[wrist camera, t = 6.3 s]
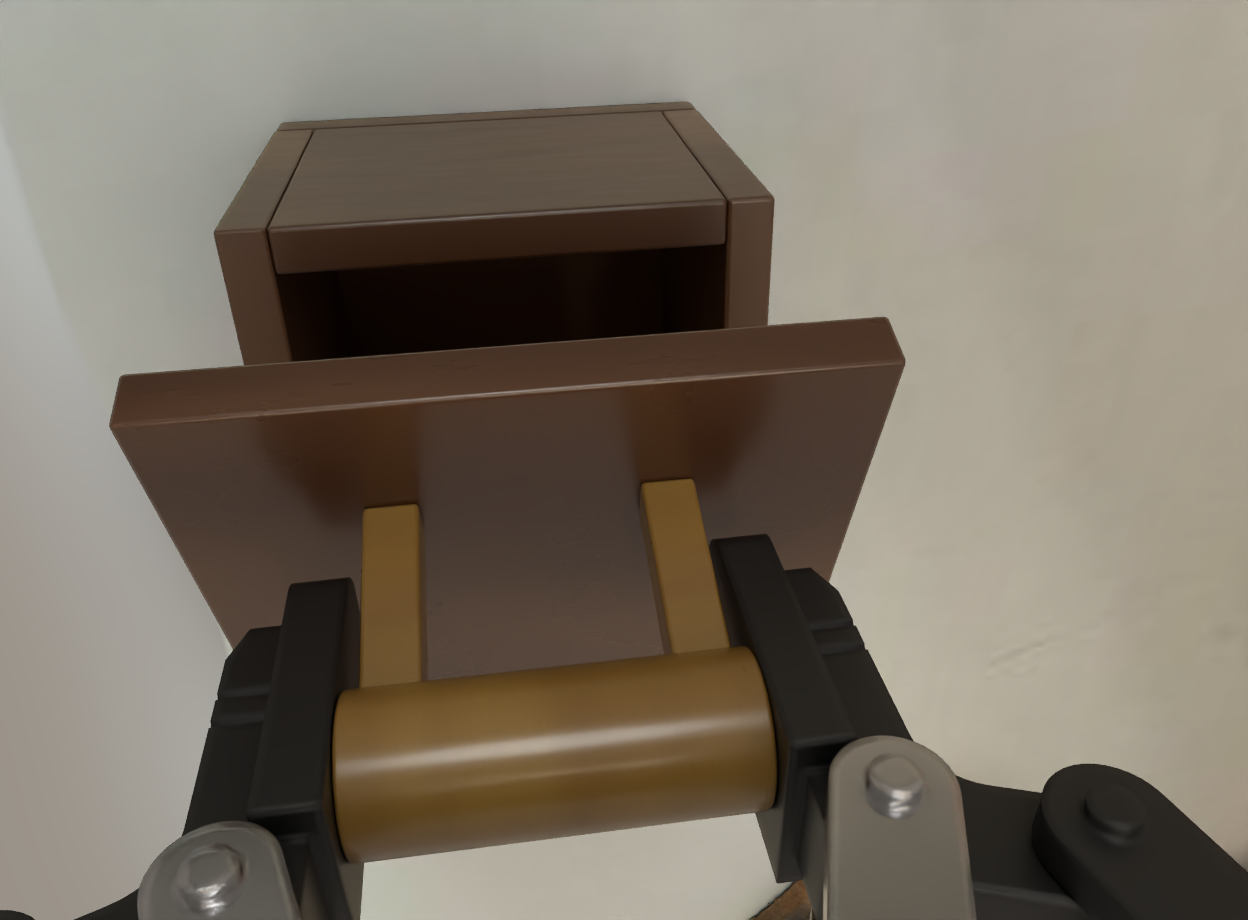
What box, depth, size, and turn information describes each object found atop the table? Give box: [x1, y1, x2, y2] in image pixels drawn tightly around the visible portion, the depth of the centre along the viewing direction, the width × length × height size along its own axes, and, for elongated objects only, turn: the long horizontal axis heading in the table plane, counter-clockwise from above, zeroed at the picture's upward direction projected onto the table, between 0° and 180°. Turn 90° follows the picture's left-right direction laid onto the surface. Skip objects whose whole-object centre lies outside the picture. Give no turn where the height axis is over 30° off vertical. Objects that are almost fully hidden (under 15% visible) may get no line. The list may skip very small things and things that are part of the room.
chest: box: [214, 102, 774, 366], centre depth 23 cm, size 14×9×7 cm, turn 1°
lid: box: [109, 317, 905, 864], centre depth 16 cm, size 14×9×5 cm, turn 1°
